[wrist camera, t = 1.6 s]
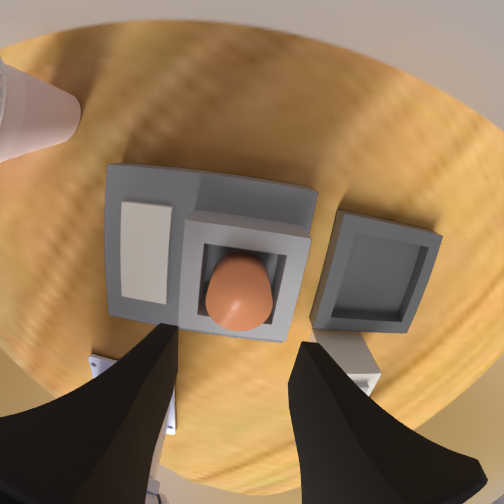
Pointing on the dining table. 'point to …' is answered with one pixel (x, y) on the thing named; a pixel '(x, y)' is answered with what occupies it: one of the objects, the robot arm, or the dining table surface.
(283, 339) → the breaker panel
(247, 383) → the dining table surface
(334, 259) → the tray
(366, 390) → the block
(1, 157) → the smoothie
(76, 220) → the dining table surface
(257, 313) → the button
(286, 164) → the dining table surface
